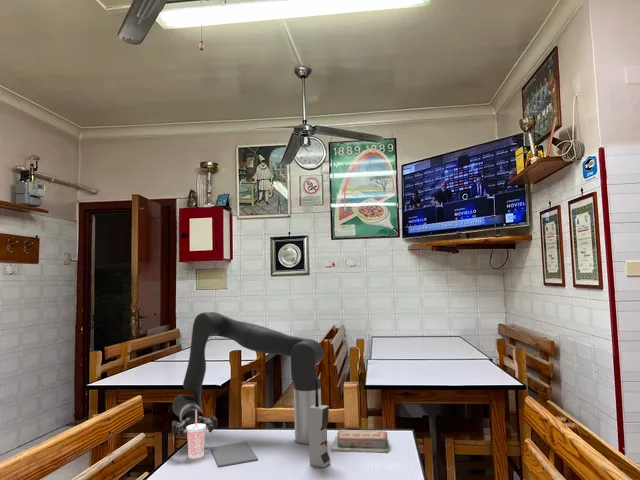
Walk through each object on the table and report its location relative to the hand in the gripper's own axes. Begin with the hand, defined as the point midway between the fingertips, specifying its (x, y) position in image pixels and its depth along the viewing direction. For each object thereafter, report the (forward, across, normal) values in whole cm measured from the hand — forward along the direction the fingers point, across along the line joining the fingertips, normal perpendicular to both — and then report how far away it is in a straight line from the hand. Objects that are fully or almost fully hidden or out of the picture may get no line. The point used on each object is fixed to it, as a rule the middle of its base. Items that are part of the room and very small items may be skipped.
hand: (196, 431), depth 141 cm
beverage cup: (-2, 0, +8) cm, 8 cm away
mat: (+2, +11, +8) cm, 14 cm away
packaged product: (+13, +50, +9) cm, 53 cm away
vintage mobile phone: (+21, +33, +8) cm, 40 cm away
